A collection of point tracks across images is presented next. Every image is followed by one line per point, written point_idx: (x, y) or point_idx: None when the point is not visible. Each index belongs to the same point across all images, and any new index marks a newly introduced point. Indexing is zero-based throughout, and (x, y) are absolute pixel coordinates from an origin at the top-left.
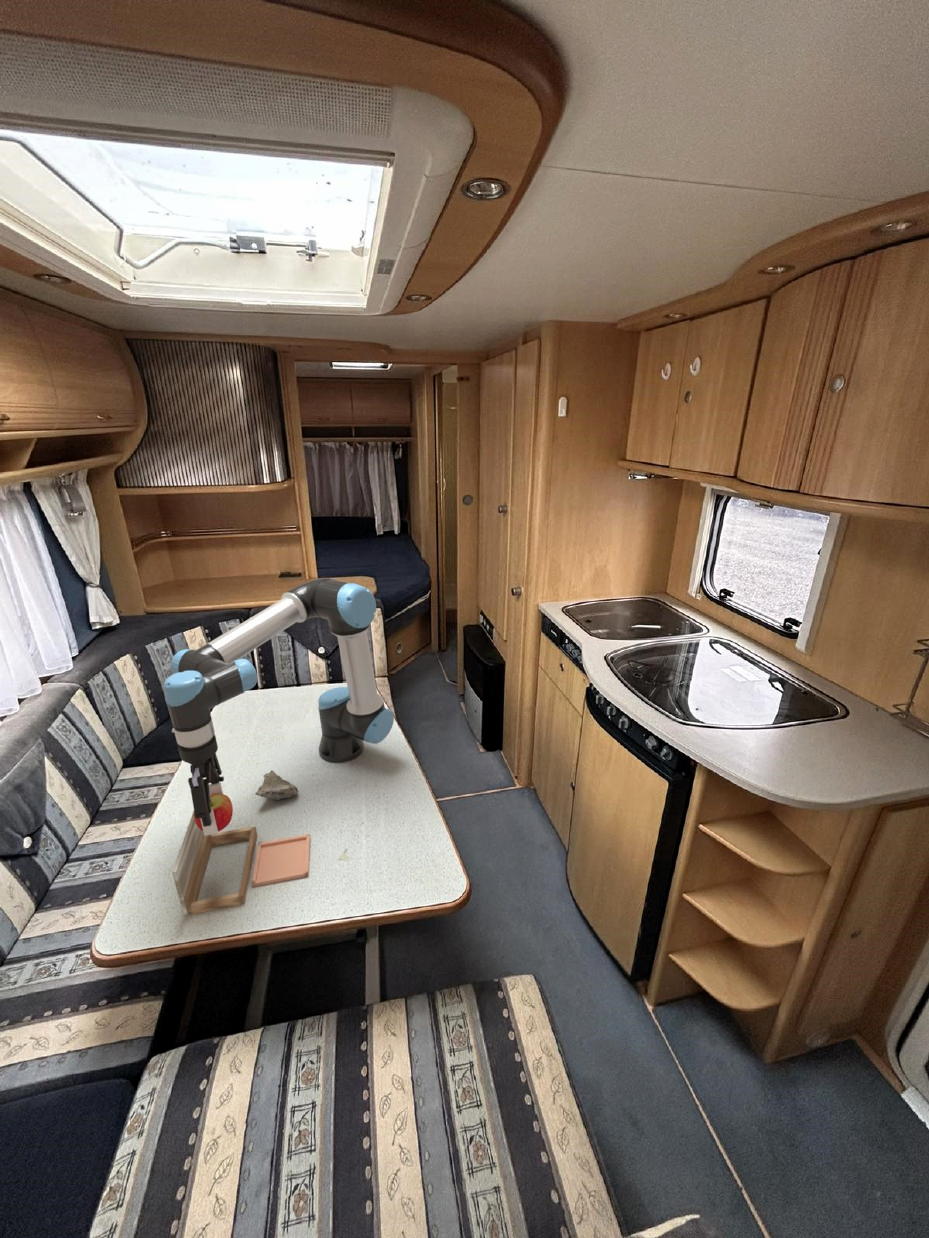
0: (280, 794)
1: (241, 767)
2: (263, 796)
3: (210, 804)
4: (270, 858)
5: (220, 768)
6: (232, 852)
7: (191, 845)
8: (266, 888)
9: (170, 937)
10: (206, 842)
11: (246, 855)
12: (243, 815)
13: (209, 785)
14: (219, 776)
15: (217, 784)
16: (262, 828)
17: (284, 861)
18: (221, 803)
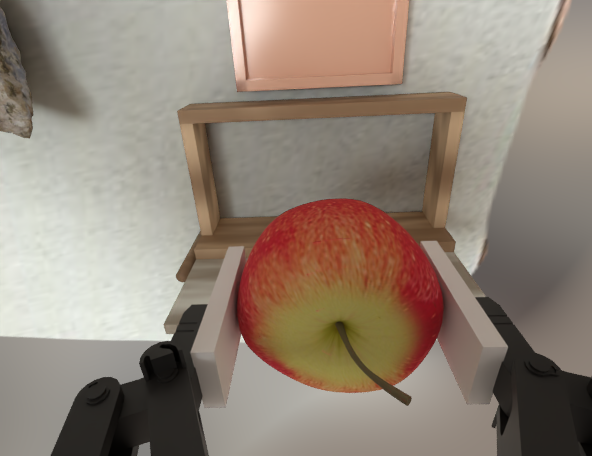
0: (3, 39)
1: None
2: (31, 105)
3: (517, 393)
4: (301, 39)
5: (66, 422)
6: (246, 165)
7: None
8: (406, 37)
9: (467, 243)
10: (249, 242)
11: (305, 117)
12: (101, 163)
13: (213, 401)
14: (154, 394)
15: (208, 365)
16: (156, 93)
17: None
18: (368, 292)
